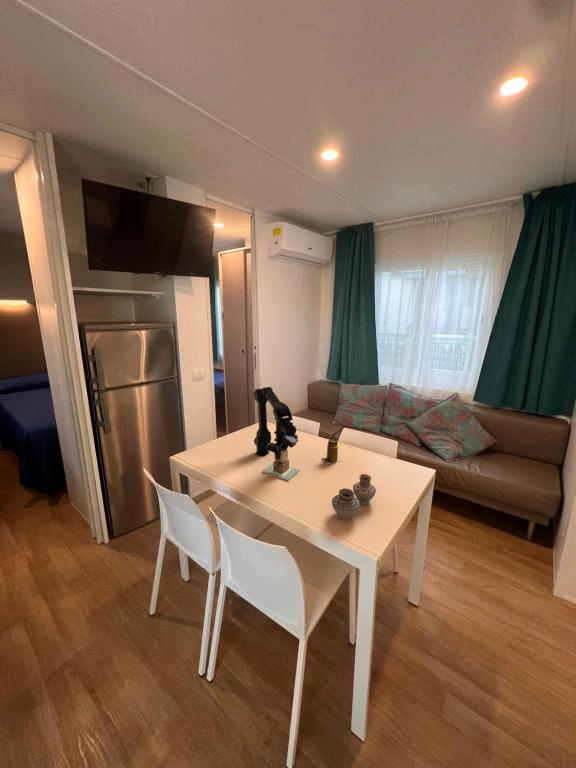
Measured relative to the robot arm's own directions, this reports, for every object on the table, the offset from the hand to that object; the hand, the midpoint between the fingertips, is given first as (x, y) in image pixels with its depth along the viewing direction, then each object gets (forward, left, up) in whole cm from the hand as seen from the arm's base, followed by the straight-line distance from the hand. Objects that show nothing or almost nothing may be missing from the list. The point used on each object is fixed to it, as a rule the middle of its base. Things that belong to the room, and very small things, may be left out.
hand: (281, 457), depth 156 cm
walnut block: (0, 0, -7) cm, 7 cm away
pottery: (+43, -9, -8) cm, 45 cm away
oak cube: (0, 0, -1) cm, 1 cm away
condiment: (+17, +26, -8) cm, 32 cm away
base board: (0, 0, -8) cm, 8 cm away
